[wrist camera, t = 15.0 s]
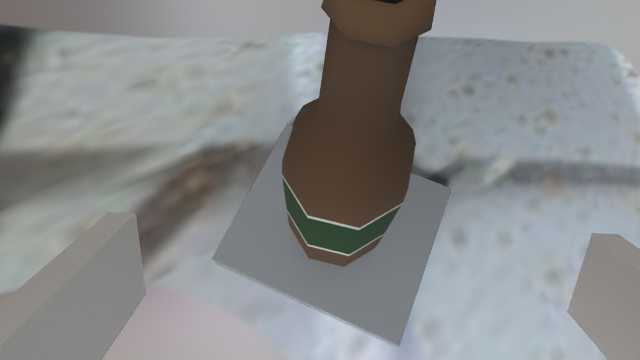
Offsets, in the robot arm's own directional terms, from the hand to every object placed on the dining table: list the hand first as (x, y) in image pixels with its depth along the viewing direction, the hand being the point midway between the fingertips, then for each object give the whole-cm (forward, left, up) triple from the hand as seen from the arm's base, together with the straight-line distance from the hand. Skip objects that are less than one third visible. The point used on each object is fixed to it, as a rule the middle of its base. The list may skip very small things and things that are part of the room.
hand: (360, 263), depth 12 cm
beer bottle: (+3, -8, -21) cm, 22 cm away
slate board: (+3, -8, -22) cm, 24 cm away
